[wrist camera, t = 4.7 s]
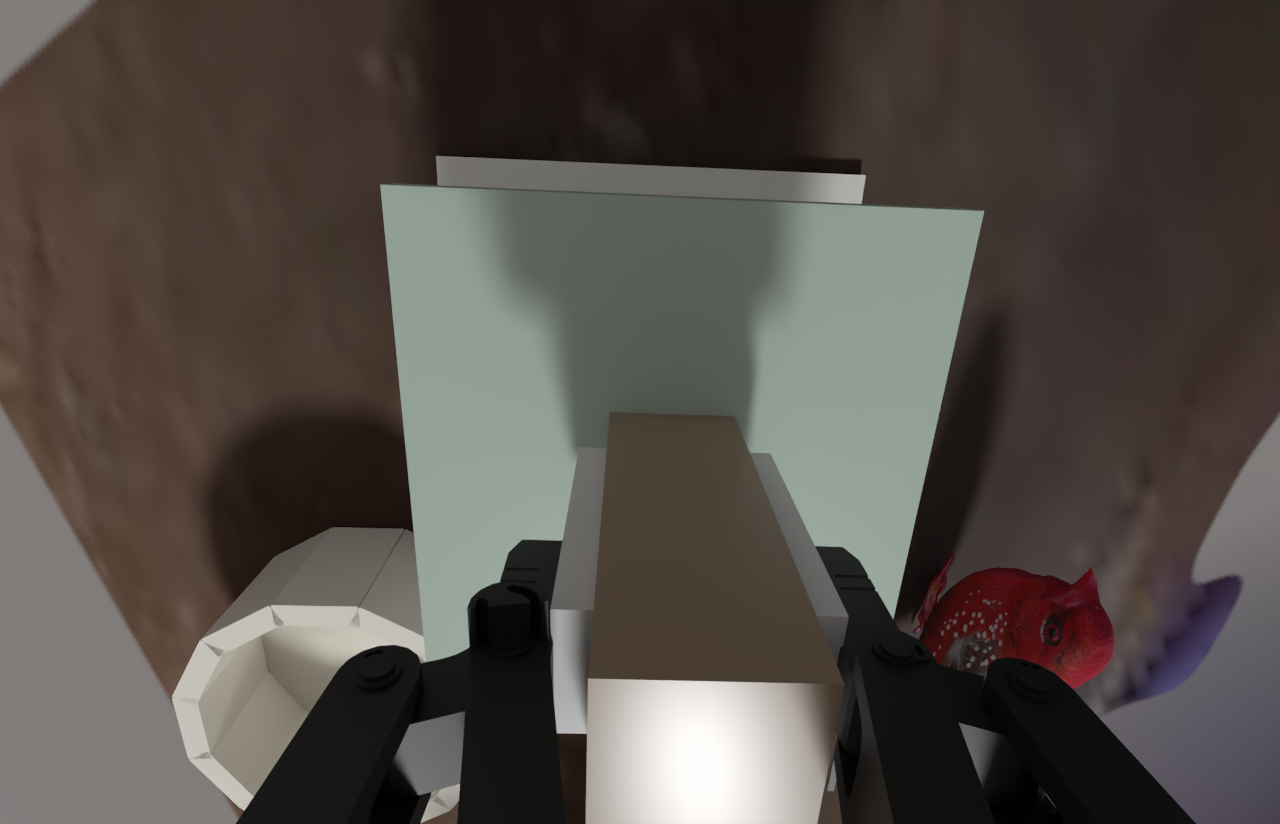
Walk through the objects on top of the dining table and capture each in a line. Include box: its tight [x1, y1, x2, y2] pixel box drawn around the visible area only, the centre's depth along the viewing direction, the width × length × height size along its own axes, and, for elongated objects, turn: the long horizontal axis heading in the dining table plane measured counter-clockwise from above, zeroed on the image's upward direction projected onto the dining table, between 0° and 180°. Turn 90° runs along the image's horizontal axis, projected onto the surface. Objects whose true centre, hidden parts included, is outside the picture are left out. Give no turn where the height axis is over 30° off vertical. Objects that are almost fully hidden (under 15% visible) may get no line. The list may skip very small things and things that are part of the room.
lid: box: [380, 183, 984, 824], centre depth 15 cm, size 15×15×11 cm
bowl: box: [172, 527, 460, 823], centre depth 31 cm, size 13×13×6 cm
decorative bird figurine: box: [913, 550, 1114, 689], centre depth 30 cm, size 3×18×10 cm, turn 166°
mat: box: [436, 156, 866, 204], centre depth 29 cm, size 17×17×1 cm
